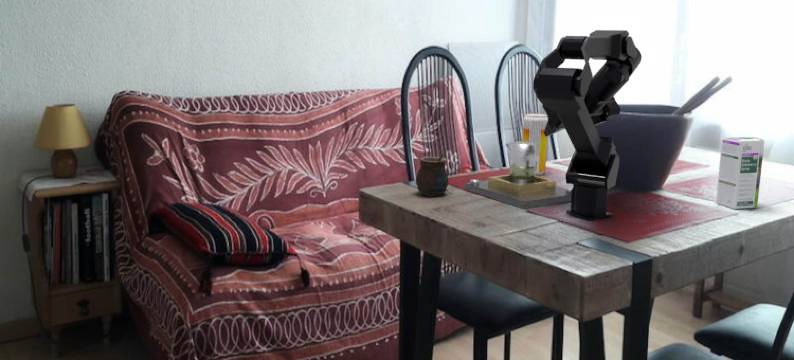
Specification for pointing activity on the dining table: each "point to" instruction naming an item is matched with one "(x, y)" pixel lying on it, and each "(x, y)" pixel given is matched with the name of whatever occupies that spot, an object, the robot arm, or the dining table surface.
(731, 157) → the syrup box
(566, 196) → the grey plate with frame
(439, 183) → the mate gourd
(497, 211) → the dining table surface
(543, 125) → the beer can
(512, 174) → the glass mug
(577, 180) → the robot arm
